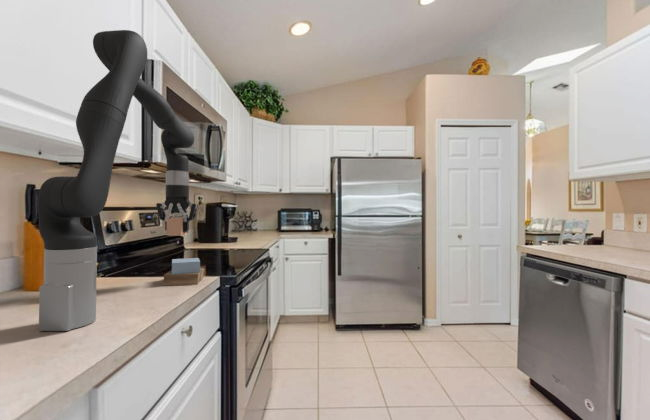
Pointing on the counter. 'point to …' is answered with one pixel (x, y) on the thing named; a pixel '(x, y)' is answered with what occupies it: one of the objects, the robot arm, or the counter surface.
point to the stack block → (175, 227)
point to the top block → (185, 266)
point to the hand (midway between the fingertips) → (177, 232)
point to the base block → (183, 278)
